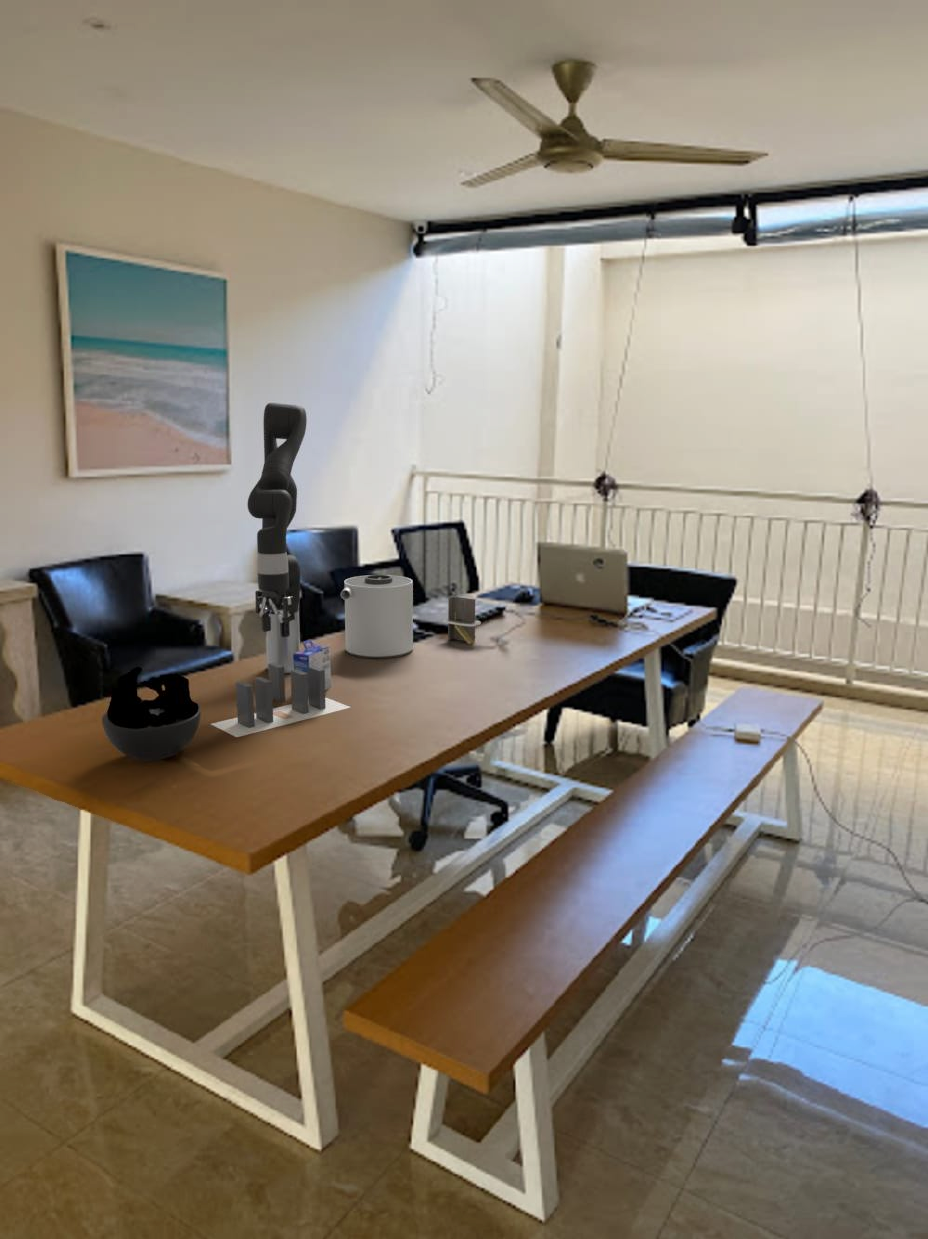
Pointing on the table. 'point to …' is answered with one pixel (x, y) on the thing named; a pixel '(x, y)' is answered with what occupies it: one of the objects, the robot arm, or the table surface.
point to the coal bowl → (151, 717)
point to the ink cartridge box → (314, 660)
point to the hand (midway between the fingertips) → (275, 633)
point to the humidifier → (378, 616)
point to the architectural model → (461, 619)
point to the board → (278, 718)
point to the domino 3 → (277, 681)
